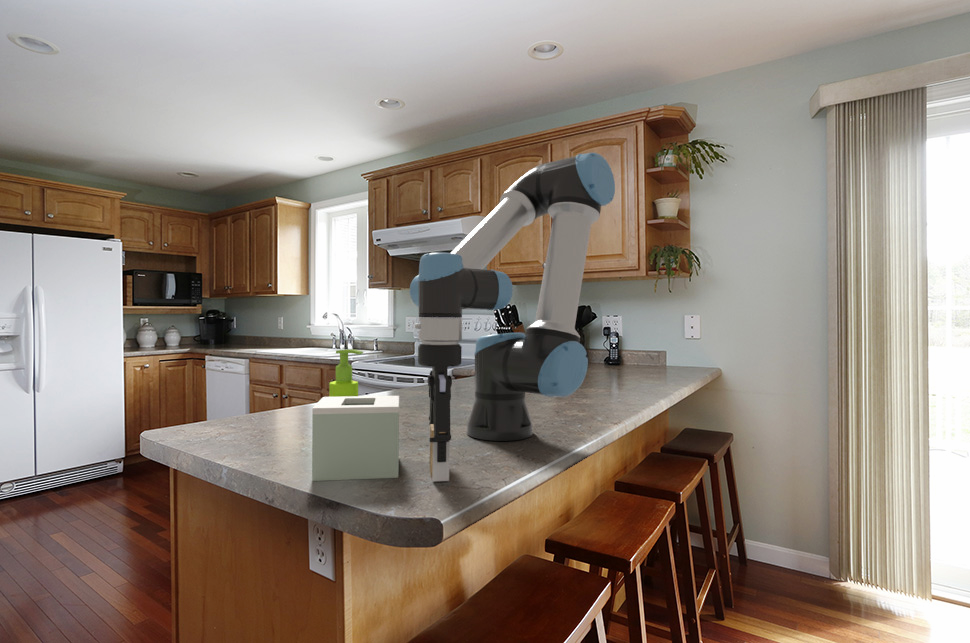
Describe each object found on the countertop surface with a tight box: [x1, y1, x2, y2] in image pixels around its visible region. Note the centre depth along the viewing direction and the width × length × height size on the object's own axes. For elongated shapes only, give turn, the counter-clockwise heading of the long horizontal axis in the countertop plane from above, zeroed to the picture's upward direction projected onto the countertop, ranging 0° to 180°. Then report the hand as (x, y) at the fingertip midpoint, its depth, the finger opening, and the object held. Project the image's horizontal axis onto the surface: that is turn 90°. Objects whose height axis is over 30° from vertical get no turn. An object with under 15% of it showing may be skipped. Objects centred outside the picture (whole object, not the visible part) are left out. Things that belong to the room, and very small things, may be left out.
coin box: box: [311, 395, 400, 482], centre depth 94 cm, size 14×12×12 cm
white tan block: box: [429, 424, 446, 478], centre depth 92 cm, size 5×3×8 cm, turn 9°
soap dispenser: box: [328, 348, 364, 397], centre depth 111 cm, size 6×7×20 cm
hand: (438, 471), depth 92 cm, fingers open, 9 cm apart
